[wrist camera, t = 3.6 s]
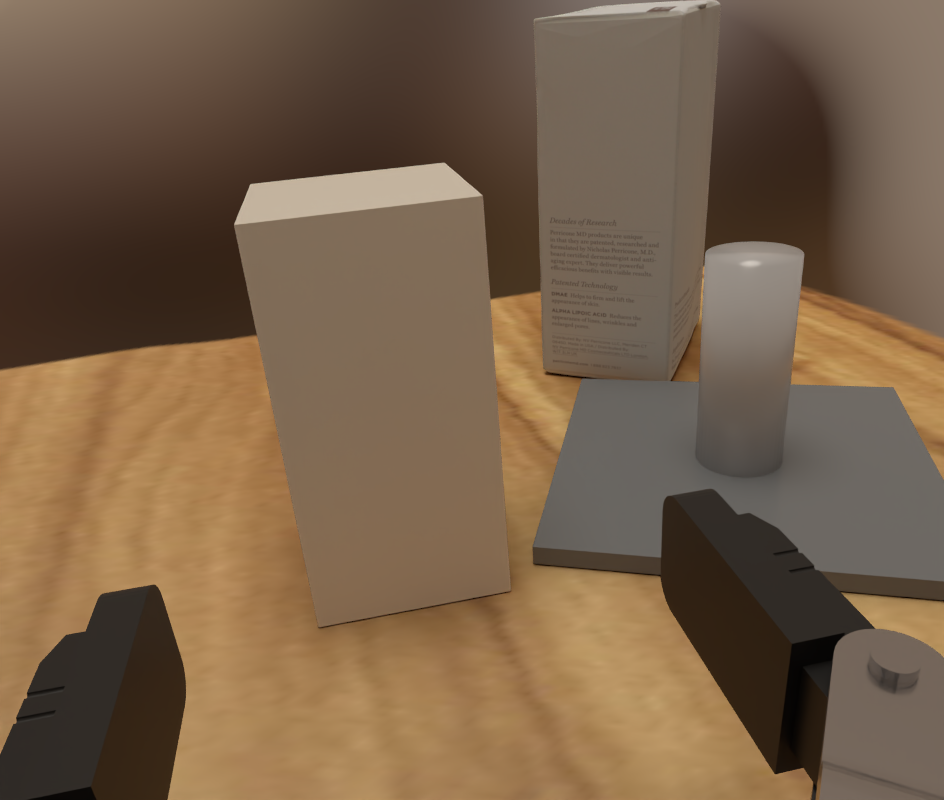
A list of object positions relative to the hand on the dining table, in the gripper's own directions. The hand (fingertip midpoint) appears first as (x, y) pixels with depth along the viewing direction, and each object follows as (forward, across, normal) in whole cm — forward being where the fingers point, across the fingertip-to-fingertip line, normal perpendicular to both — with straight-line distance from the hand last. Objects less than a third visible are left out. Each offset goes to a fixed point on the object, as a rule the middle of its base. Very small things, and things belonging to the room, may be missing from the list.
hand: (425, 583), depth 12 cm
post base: (+11, -12, +6) cm, 17 cm away
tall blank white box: (+10, 0, +6) cm, 12 cm away
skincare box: (+23, -12, +7) cm, 27 cm away
